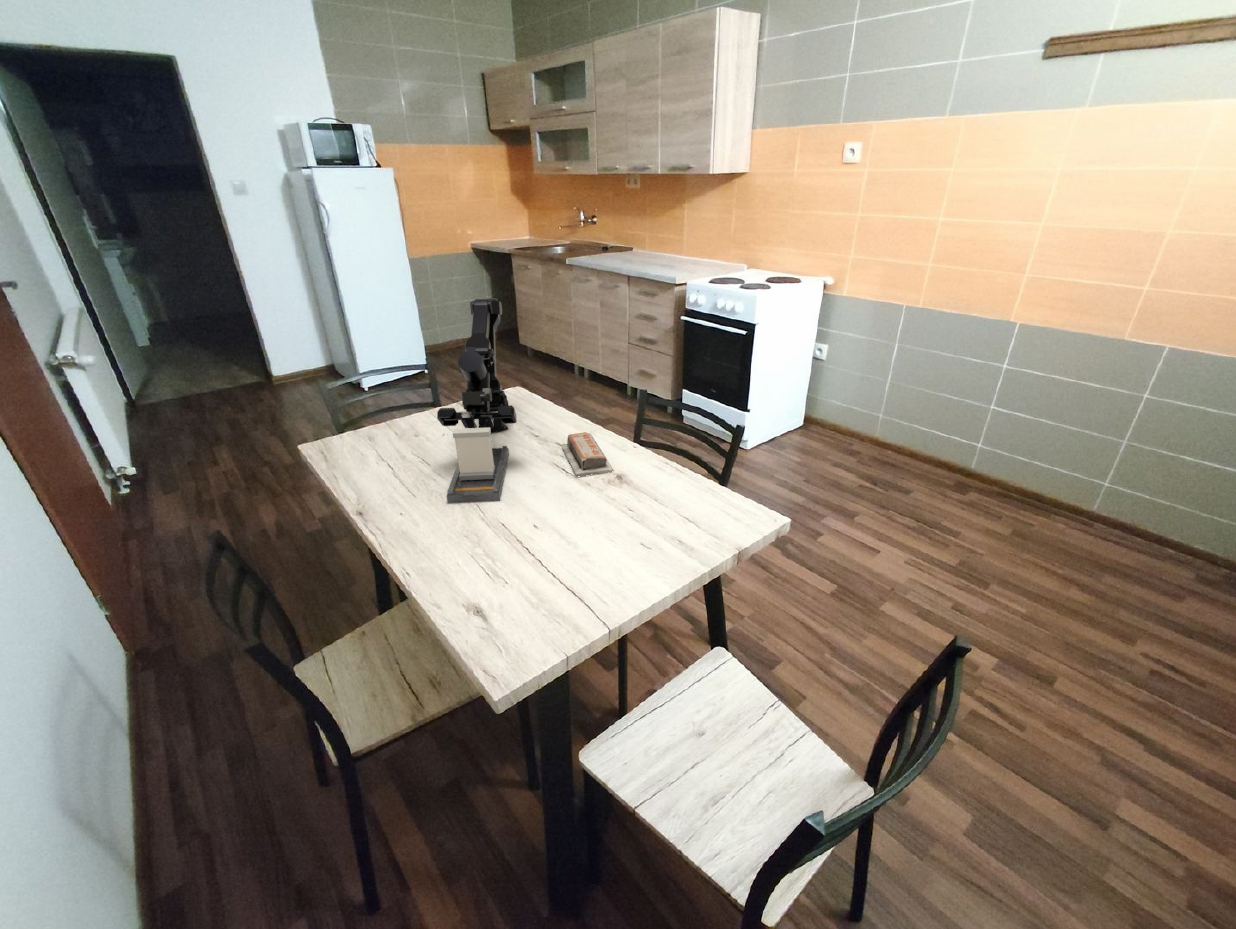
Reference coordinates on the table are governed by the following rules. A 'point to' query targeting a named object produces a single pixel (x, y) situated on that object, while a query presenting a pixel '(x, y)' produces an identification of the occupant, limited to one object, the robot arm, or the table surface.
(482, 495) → the tray
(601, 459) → the packaged product
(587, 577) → the table surface
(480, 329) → the robot arm
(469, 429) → the fader paddle
